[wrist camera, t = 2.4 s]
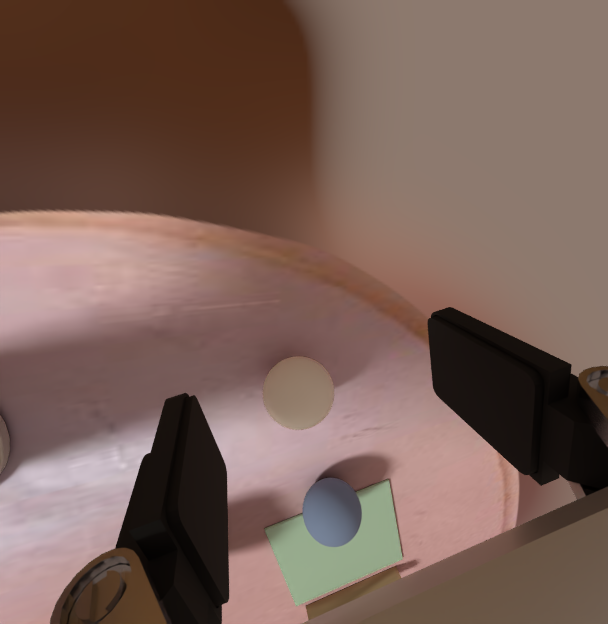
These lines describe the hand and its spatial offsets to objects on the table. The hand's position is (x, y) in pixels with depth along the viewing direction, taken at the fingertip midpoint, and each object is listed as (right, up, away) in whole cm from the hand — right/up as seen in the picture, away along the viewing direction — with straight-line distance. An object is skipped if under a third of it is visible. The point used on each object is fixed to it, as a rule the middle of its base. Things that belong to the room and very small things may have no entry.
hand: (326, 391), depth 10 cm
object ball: (+2, -16, +21) cm, 26 cm away
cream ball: (-1, -4, +15) cm, 16 cm away
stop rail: (+5, -32, +30) cm, 44 cm away
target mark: (+3, -24, +27) cm, 36 cm away
